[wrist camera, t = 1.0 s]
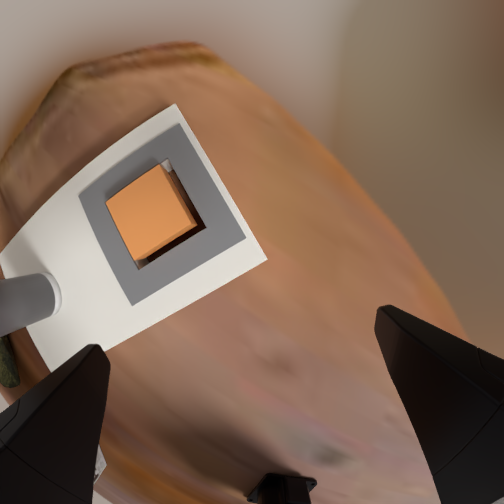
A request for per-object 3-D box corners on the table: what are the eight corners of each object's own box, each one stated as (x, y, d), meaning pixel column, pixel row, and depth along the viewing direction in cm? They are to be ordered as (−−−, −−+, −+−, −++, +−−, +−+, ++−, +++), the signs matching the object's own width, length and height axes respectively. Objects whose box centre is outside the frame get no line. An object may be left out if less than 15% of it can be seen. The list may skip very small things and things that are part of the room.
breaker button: (167, 170, 19) (158, 164, 17) (197, 225, 20) (191, 223, 18) (117, 205, 20) (105, 202, 18) (144, 258, 20) (133, 260, 18)
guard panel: (182, 115, 21) (174, 101, 18) (265, 256, 22) (267, 259, 19) (12, 255, 22) (-4, 256, 19) (67, 368, 22) (53, 379, 20)
